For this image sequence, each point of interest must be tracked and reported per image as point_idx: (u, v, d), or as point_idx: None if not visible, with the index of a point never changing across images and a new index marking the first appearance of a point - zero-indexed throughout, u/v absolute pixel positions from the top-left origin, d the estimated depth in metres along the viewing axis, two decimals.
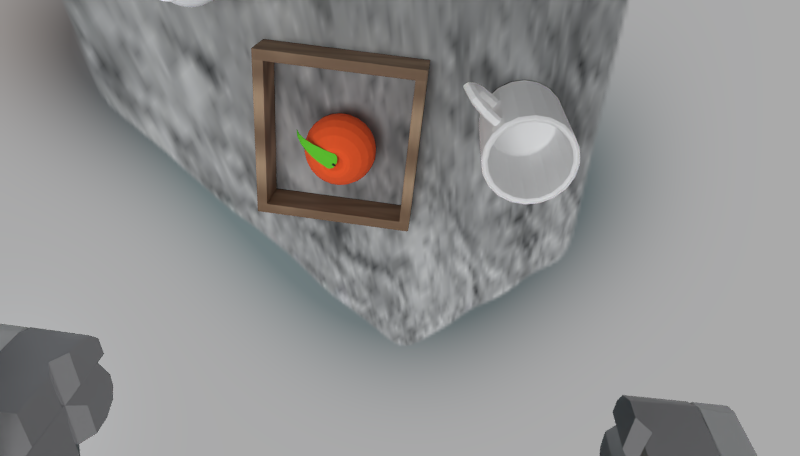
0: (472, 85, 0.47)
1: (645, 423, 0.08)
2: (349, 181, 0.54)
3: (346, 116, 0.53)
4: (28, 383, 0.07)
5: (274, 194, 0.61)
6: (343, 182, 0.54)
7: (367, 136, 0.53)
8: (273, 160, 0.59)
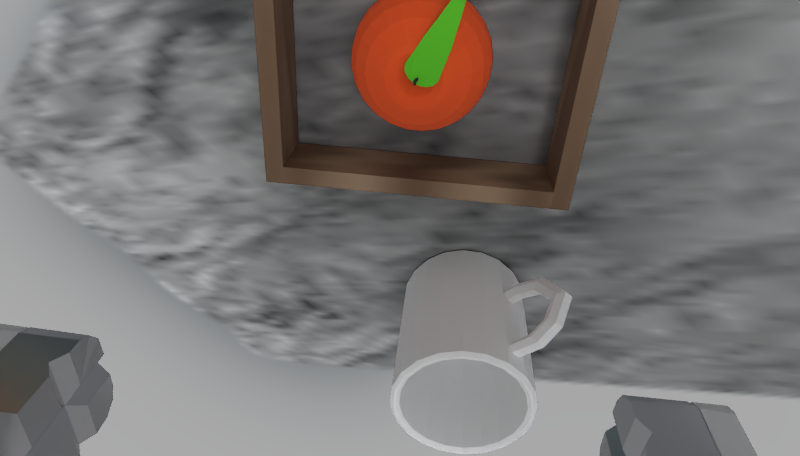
0: None
1: (645, 423, 0.08)
2: (369, 97, 0.27)
3: (489, 73, 0.28)
4: (28, 383, 0.07)
5: None
6: (367, 87, 0.26)
7: (457, 120, 0.28)
8: None
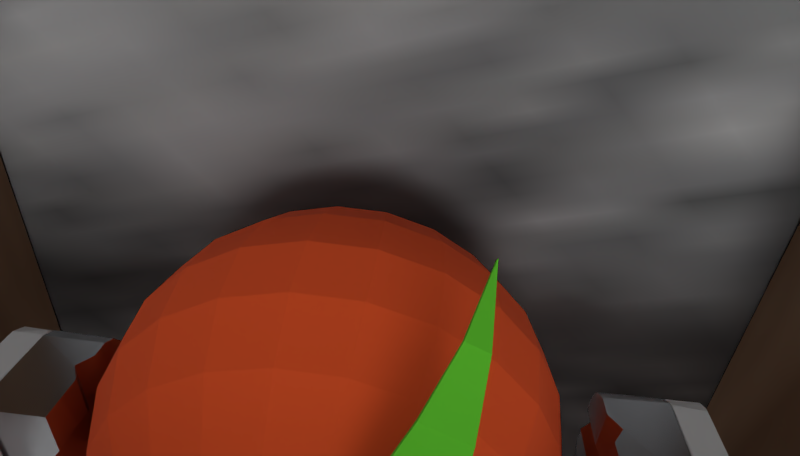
0: None
1: (617, 419, 0.08)
2: None
3: None
4: (55, 387, 0.07)
5: None
6: None
7: None
8: None
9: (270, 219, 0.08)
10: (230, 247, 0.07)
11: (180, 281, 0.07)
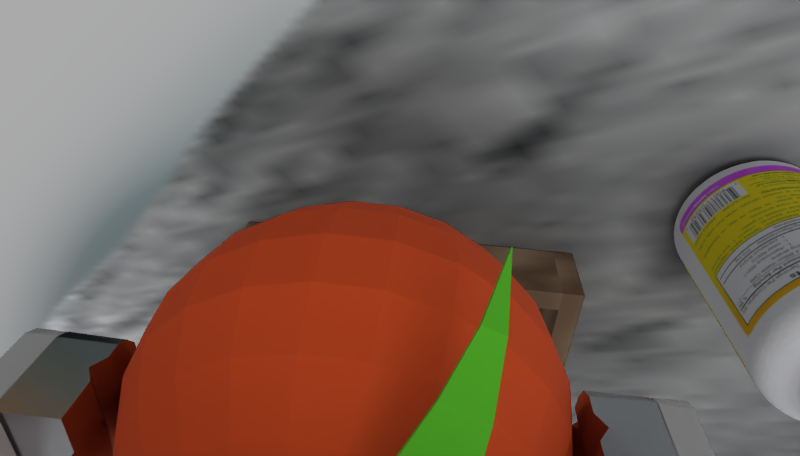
0: None
1: (603, 418, 0.08)
2: None
3: None
4: (70, 388, 0.07)
5: None
6: None
7: None
8: None
9: (288, 213, 0.08)
10: (250, 240, 0.08)
11: (203, 273, 0.07)
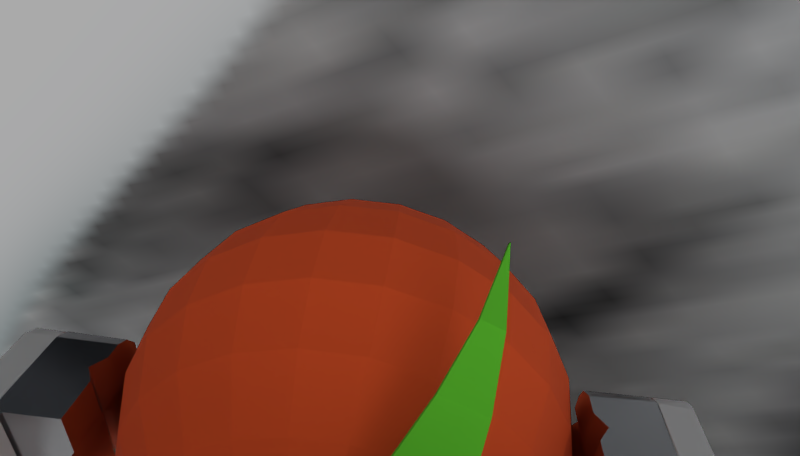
0: None
1: (602, 418, 0.08)
2: None
3: None
4: (70, 388, 0.07)
5: None
6: None
7: None
8: None
9: (288, 211, 0.08)
10: (251, 238, 0.08)
11: (204, 270, 0.08)
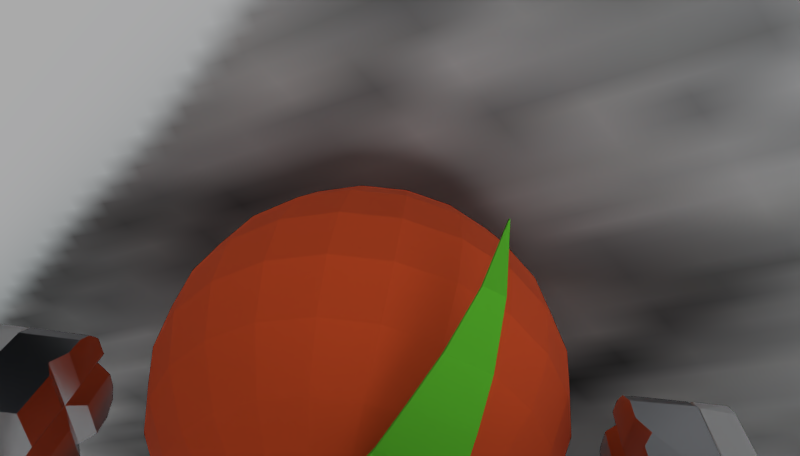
0: None
1: (645, 423, 0.08)
2: None
3: None
4: (28, 383, 0.07)
5: None
6: None
7: None
8: None
9: (303, 196, 0.09)
10: (269, 220, 0.08)
11: (226, 250, 0.08)
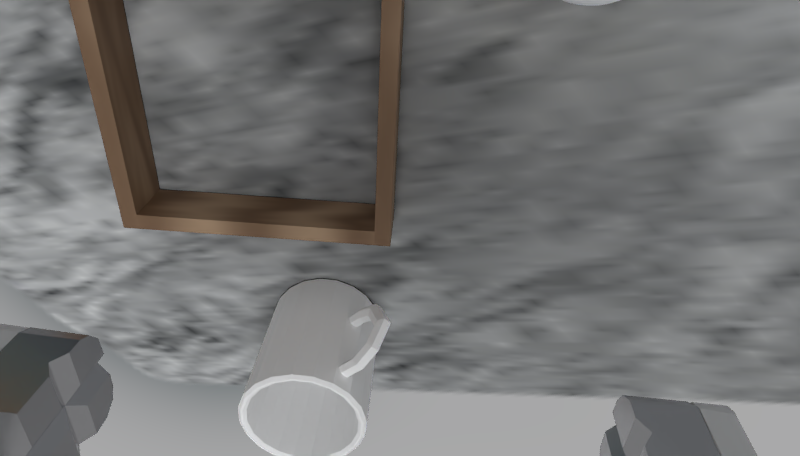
0: (387, 330, 0.34)
1: (645, 423, 0.08)
2: None
3: None
4: (28, 383, 0.07)
5: None
6: None
7: None
8: None
9: None
10: None
11: None
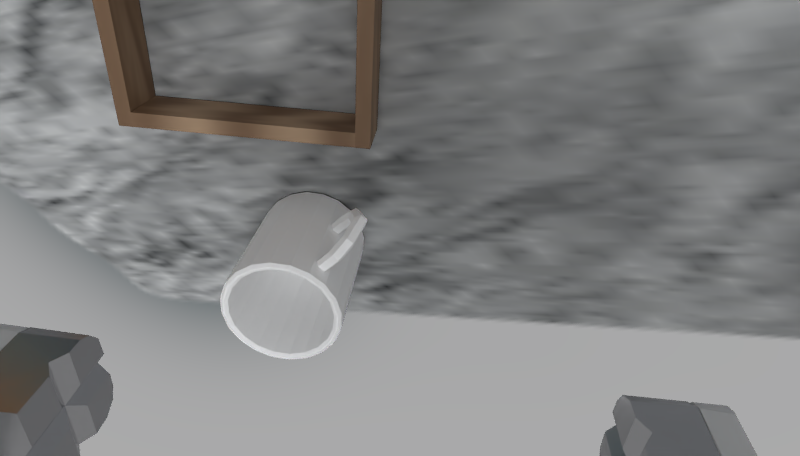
0: None
1: (645, 423, 0.08)
2: None
3: None
4: (28, 383, 0.07)
5: None
6: None
7: None
8: None
9: None
10: None
11: None
